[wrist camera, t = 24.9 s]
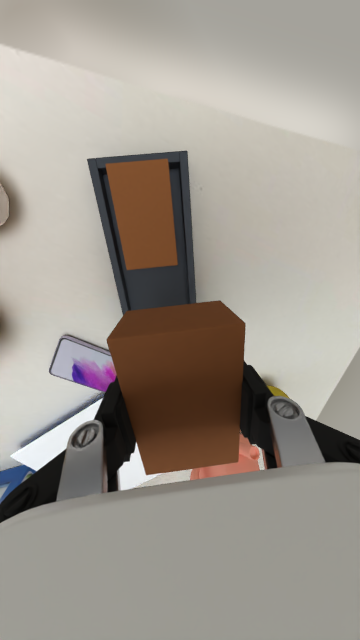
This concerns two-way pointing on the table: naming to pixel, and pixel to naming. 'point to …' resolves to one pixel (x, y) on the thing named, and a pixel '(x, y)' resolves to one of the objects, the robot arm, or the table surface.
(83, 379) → the smartphone
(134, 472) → the plate
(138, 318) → the brown brick
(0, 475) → the milk carton
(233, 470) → the teapot
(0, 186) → the light bulb
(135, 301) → the frame
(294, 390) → the table surface
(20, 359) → the table surface
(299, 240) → the table surface
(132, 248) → the brown rectangular block
